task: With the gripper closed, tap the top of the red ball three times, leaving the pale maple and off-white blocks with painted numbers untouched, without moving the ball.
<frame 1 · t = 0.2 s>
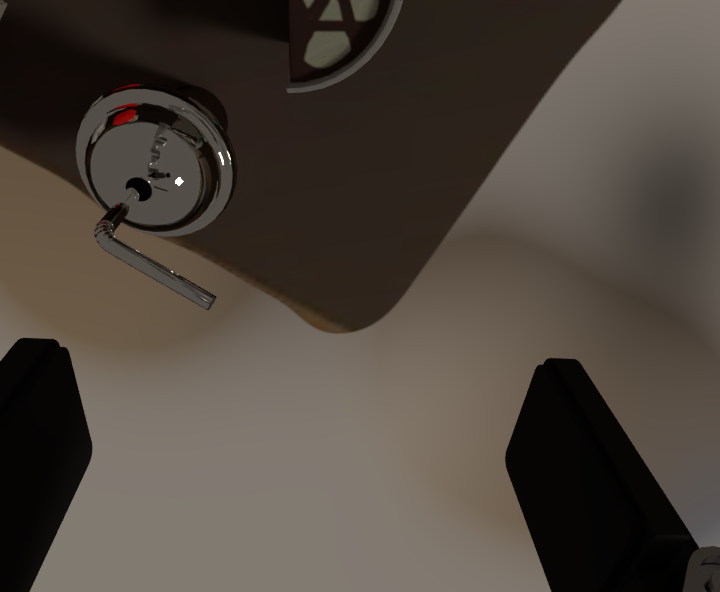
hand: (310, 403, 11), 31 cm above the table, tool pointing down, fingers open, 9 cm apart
cup with straw: (198, 122, 38), on the table
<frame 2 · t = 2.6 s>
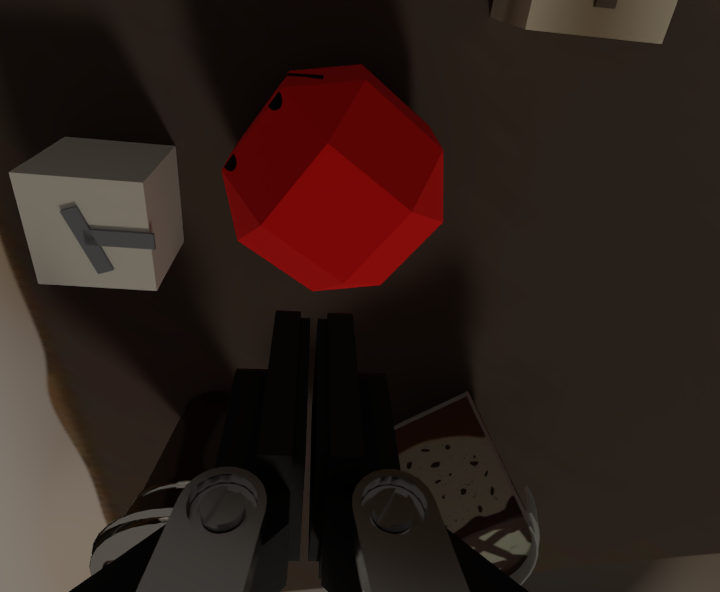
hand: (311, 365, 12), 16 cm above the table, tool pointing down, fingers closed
off-white block numbered 7: (128, 191, 26), on the table
cup with straw: (219, 417, 34), on the table
food container: (426, 444, 36), on the table
ball: (336, 152, 25), on the table
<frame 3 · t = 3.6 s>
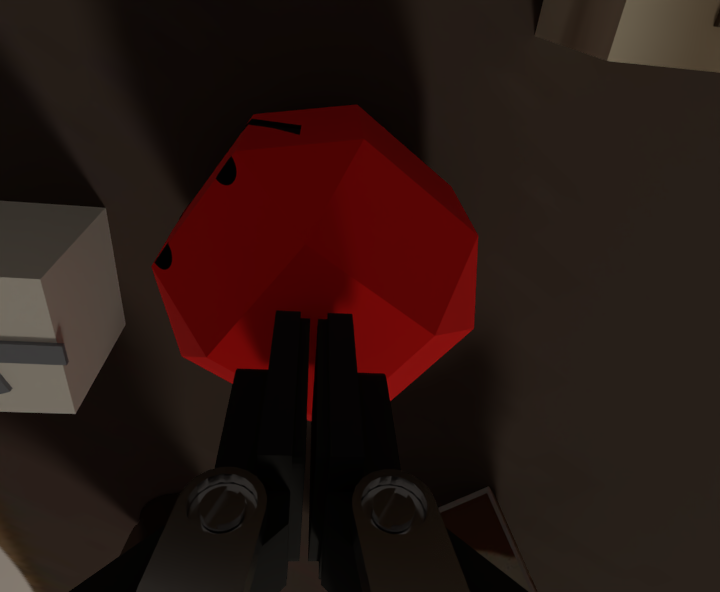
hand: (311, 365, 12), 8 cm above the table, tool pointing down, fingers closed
off-white block numbered 7: (46, 265, 19), on the table
cup with straw: (184, 520, 28), on the table
food container: (436, 542, 30), on the table
ball: (323, 213, 19), on the table
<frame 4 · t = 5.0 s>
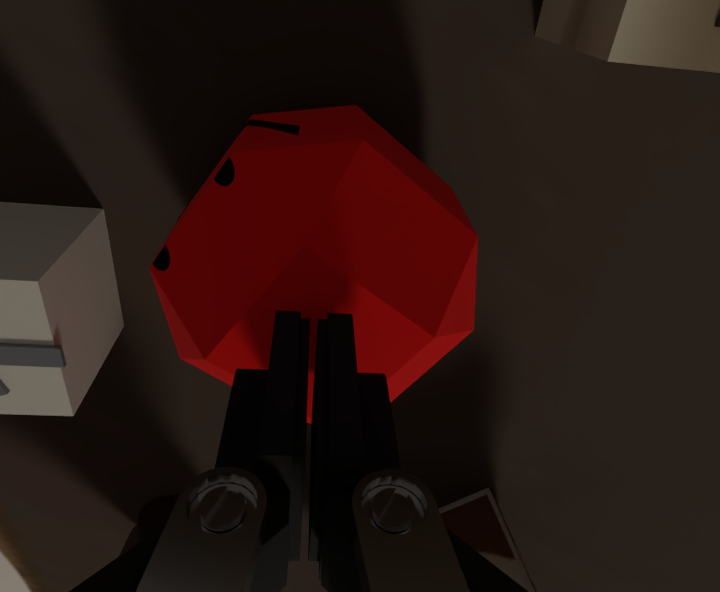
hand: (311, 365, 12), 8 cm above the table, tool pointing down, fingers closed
off-white block numbered 7: (44, 266, 19), on the table
cup with straw: (183, 521, 28), on the table
food container: (436, 543, 30), on the table
ball: (322, 214, 19), on the table
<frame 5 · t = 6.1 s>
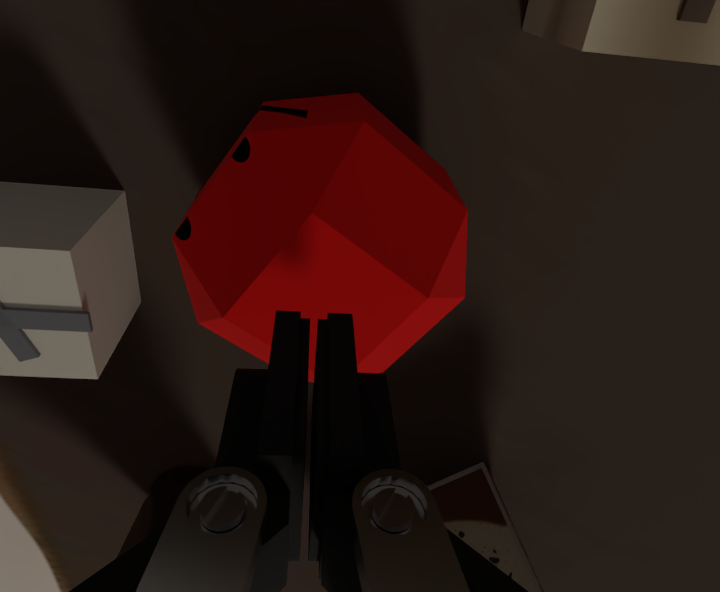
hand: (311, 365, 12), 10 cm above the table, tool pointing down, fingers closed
off-white block numbered 7: (69, 244, 21), on the table
cup with straw: (193, 493, 29), on the table
food container: (434, 517, 32), on the table
ball: (326, 196, 20), on the table
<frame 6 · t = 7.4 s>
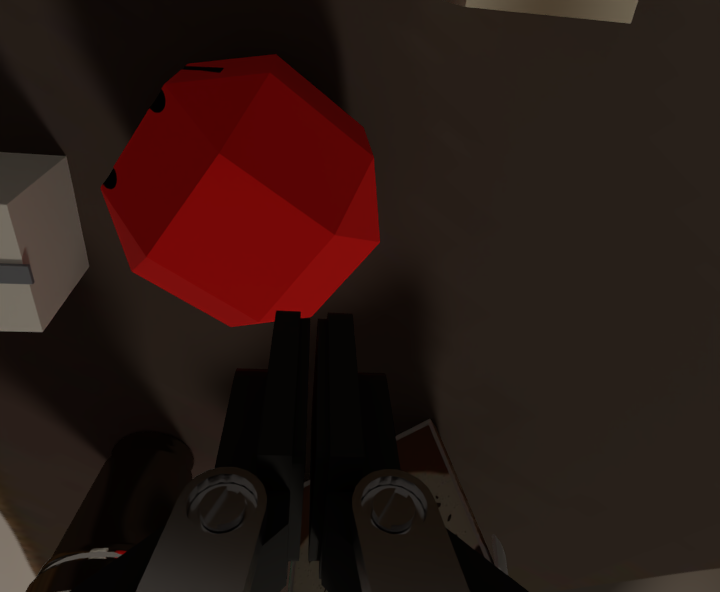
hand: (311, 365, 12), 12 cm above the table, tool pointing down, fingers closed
off-white block numbered 7: (15, 210, 22), on the table
cup with straw: (153, 459, 30), on the table
food container: (388, 476, 33), on the table
ball: (260, 159, 22), on the table
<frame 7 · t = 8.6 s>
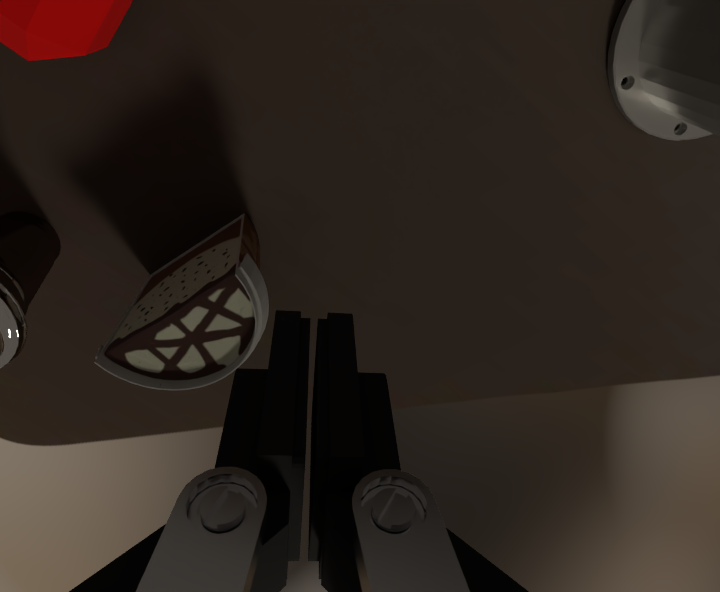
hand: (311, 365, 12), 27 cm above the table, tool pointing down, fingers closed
cup with straw: (28, 241, 39), on the table
food container: (223, 272, 41), on the table
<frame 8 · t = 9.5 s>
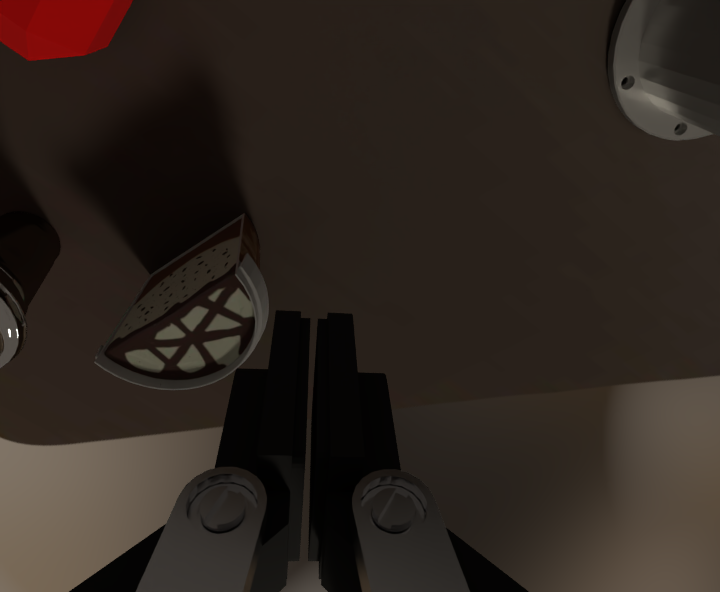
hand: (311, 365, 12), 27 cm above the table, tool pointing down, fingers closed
cup with straw: (28, 241, 39), on the table
food container: (223, 272, 41), on the table
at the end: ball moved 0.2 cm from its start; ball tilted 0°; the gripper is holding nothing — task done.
